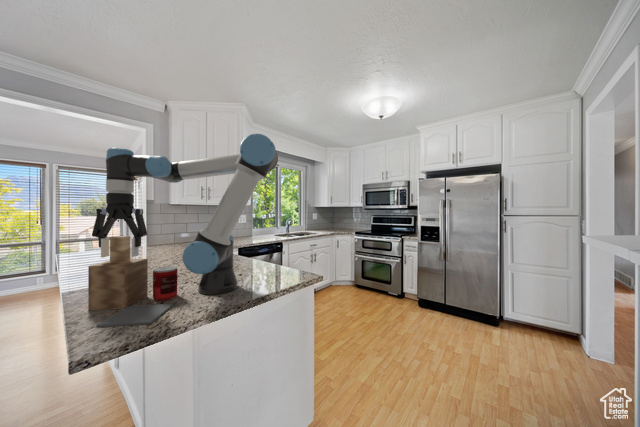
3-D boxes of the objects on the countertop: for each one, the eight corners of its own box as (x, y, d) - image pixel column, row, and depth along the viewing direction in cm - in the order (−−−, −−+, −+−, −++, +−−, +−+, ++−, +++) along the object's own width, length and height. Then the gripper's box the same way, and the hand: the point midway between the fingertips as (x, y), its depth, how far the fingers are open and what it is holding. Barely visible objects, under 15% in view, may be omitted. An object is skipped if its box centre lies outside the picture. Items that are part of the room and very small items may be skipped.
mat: (173, 305, 82) (173, 303, 82) (150, 323, 69) (150, 321, 69) (129, 307, 81) (129, 305, 81) (96, 326, 67) (96, 324, 67)
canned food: (162, 293, 94) (162, 266, 94) (181, 294, 94) (181, 266, 94) (147, 300, 87) (147, 270, 87) (168, 301, 86) (169, 270, 87)
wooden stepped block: (147, 296, 91) (147, 235, 91) (127, 308, 80) (127, 238, 80) (114, 297, 90) (114, 235, 90) (88, 310, 78) (88, 238, 78)
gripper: (159, 194, 90) (159, 254, 90) (94, 193, 87) (94, 255, 87) (147, 192, 83) (147, 257, 83) (76, 191, 80) (76, 259, 80)
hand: (120, 256), depth 85 cm, fingers open, 9 cm apart
